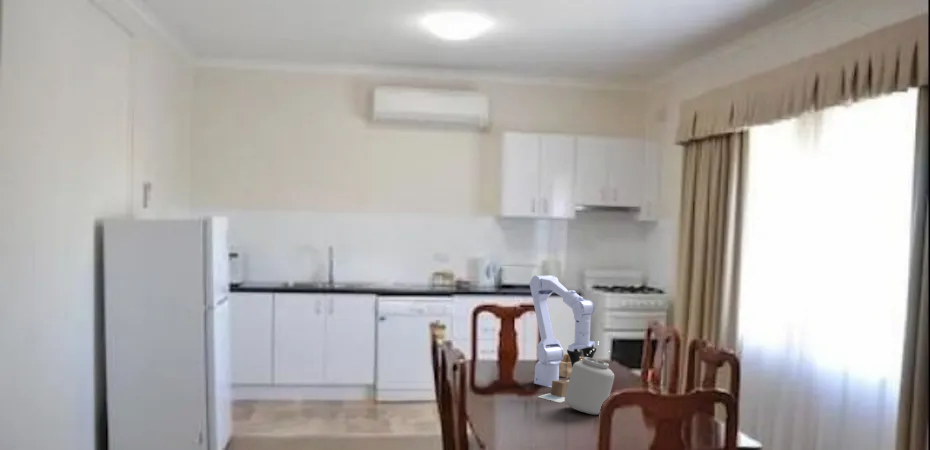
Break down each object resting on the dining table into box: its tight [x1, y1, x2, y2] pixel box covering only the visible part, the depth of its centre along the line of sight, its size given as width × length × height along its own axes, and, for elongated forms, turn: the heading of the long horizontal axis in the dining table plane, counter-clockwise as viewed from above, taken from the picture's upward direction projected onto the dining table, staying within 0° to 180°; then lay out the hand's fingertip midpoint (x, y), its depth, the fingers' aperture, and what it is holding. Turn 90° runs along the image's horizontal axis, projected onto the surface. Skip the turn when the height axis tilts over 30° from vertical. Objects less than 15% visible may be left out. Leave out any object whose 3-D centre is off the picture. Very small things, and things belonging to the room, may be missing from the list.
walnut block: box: [550, 379, 569, 397], centre depth 282 cm, size 5×5×5 cm
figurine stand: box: [559, 353, 584, 378], centre depth 321 cm, size 12×16×6 cm
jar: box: [564, 341, 615, 416], centre depth 261 cm, size 19×15×25 cm
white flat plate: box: [537, 392, 565, 404], centre depth 278 cm, size 10×7×1 cm
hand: (581, 367), depth 284 cm, fingers open, 7 cm apart
